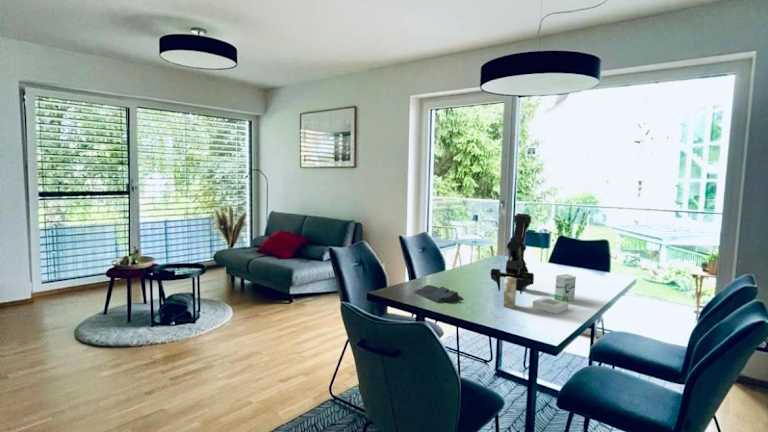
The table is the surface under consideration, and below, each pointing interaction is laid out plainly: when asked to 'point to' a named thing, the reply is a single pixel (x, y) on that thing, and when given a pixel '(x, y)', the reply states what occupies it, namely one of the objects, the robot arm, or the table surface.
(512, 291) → the birch pin
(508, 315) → the table surface
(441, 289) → the dark slate chunk
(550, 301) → the grey socket
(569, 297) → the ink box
